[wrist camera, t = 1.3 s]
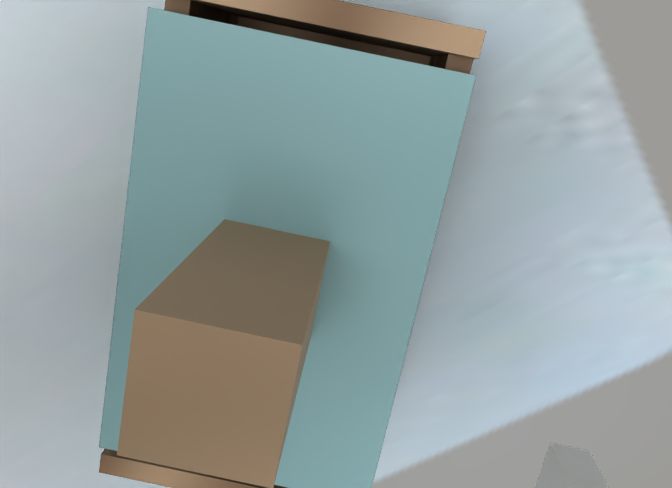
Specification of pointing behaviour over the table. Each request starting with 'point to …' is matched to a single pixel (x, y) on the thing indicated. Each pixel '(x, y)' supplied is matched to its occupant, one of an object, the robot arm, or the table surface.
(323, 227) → the lid
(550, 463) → the robot arm
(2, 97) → the table surface
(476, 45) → the box
